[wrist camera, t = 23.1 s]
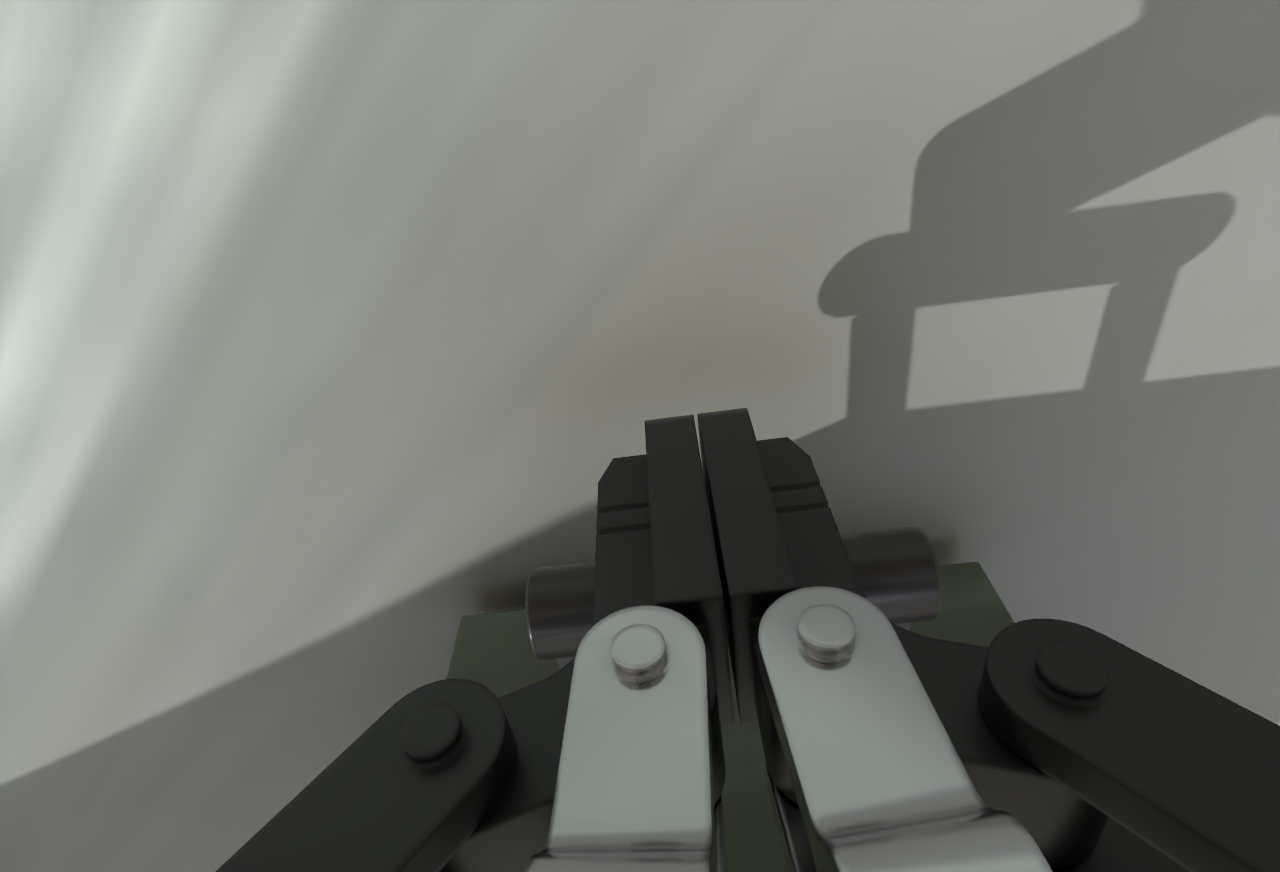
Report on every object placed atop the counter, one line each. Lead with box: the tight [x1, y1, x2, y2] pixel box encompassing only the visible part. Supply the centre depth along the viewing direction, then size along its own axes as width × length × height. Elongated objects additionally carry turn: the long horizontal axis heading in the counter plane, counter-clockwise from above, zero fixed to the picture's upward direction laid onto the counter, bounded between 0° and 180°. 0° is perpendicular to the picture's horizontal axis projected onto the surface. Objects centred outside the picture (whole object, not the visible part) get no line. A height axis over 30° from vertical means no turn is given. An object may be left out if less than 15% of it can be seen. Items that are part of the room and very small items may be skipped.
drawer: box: [447, 527, 1014, 872], centre depth 17 cm, size 20×12×7 cm, turn 7°
